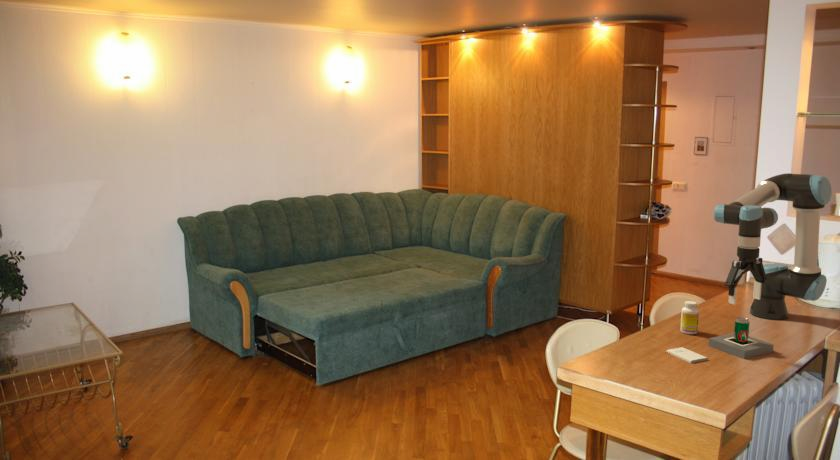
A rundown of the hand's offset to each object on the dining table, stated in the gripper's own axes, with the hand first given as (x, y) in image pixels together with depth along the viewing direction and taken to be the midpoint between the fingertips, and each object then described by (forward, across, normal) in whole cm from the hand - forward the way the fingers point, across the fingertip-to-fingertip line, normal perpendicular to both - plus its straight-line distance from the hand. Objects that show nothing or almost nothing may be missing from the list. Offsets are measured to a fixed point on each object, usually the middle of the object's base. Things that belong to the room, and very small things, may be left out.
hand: (744, 301), depth 250 cm
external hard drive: (+19, +25, -4) cm, 32 cm away
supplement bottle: (+19, +3, -23) cm, 30 cm away
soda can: (+19, +1, 0) cm, 19 cm away
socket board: (+19, +1, 0) cm, 19 cm away
